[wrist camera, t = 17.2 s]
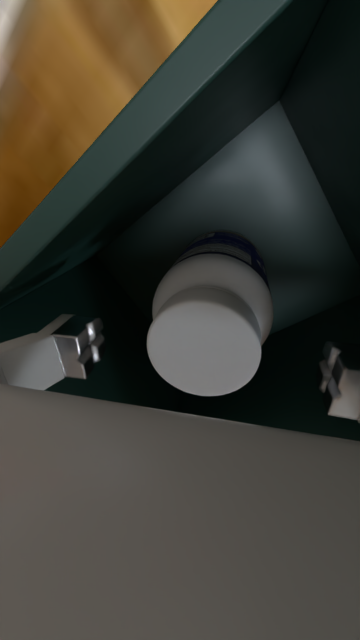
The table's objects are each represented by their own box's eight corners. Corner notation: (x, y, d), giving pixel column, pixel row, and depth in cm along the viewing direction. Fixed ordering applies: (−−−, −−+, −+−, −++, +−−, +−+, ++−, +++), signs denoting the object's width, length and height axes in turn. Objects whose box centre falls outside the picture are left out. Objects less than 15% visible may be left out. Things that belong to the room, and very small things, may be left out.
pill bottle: (258, 313, 17) (268, 421, 10) (180, 306, 18) (134, 400, 11) (271, 229, 15) (298, 289, 7) (179, 226, 16) (119, 276, 8)
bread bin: (189, 374, 22) (150, 517, 13) (86, 248, 19) (-67, 323, 9) (384, 288, 16) (577, 450, 7) (285, 73, 12) (405, -219, 3)
